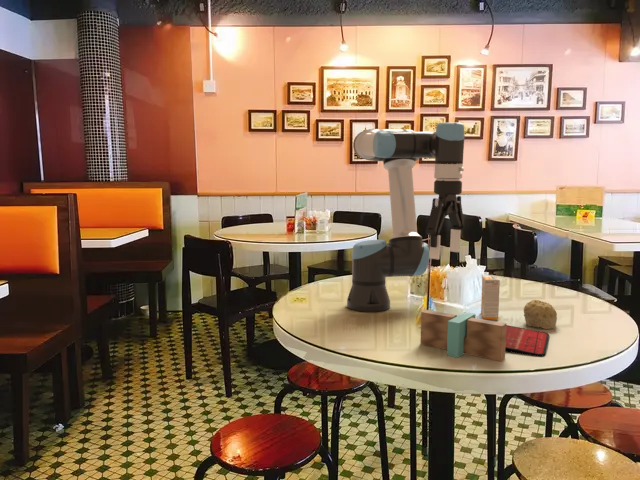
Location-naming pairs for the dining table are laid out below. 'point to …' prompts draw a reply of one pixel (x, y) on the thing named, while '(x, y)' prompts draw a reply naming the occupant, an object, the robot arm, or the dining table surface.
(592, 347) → the dining table surface
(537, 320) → the decorative item
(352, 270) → the robot arm
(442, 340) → the walnut board
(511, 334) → the binder
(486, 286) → the supplement box
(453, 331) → the teal plate
